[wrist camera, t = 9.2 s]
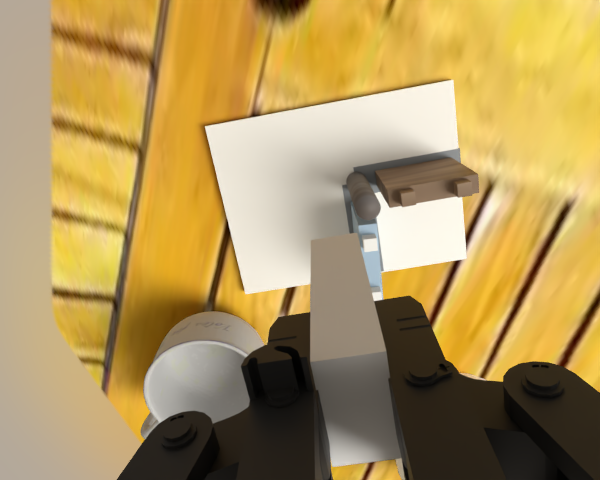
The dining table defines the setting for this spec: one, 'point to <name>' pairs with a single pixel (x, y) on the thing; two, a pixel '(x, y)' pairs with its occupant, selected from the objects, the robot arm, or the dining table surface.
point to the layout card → (334, 181)
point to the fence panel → (369, 251)
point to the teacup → (200, 369)
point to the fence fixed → (412, 185)
